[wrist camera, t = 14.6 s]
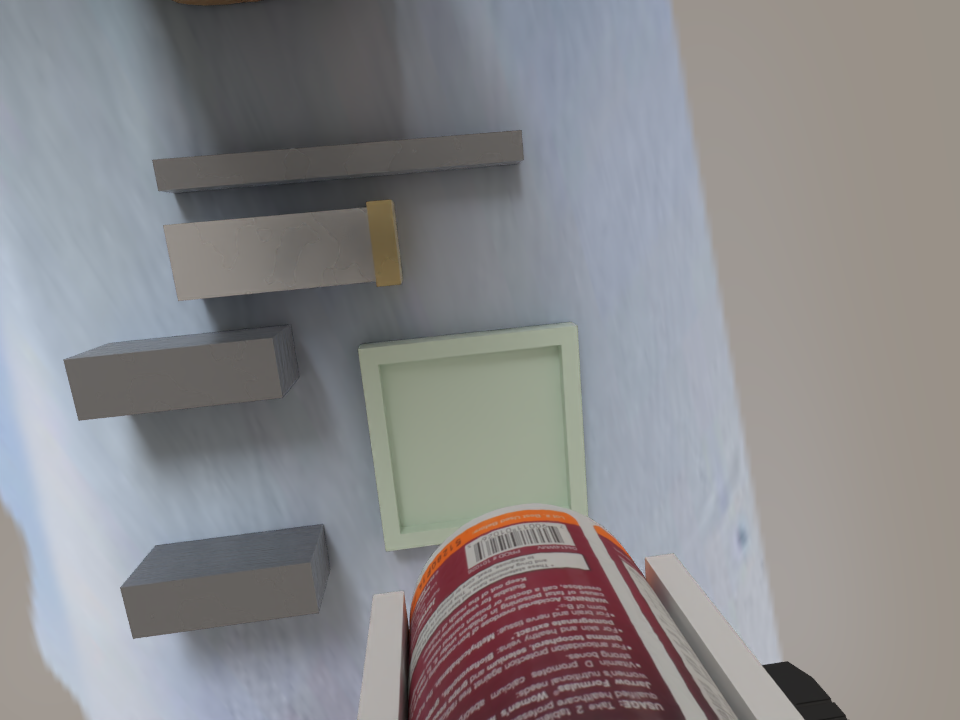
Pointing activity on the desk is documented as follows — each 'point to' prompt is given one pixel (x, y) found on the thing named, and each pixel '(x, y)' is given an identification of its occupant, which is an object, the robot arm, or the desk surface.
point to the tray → (473, 427)
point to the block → (213, 2)
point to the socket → (218, 561)
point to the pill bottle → (547, 628)
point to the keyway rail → (338, 161)
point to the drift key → (285, 252)
